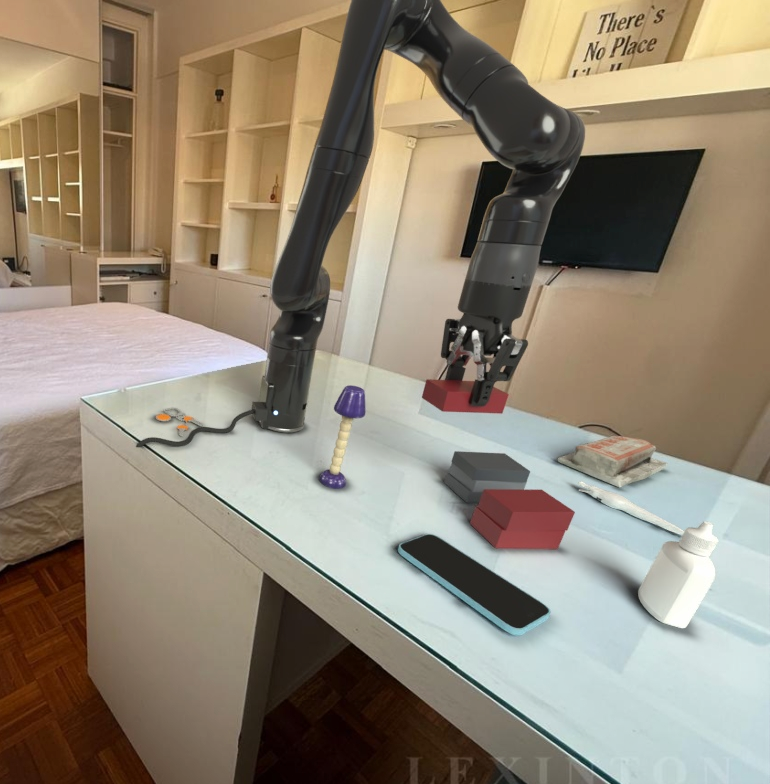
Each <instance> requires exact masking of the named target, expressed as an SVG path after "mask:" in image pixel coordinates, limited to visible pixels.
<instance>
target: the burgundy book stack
mask: <svg viewBox="0 0 770 784" xmlns="http://www.w3.org/2000/svg"><path fill="white" fill-rule="evenodd" d="M575 514H576V511H574V510H573V509H571V507H568V506H567V505H566V504H565V503H563V502H561V501H559V500H558V499H557V498H555V497H554V496H552V495H551V494H549V493H548V492H546V491H545V490H544V489H524V490H523V489H484V490H483V493H482V496H481V499H480V502H479V503H478V505H477V506H475V507H474V510H473V513H472V516H471V519H470V522H469V524H470V525H471V526H472V527H473V528H474V529H475V530H476V531H477V532H478V533H479V534H480V535H481V536H482V537H483V538H484V539H485V540H486V541H487V542H488V543H489V544H490V545H491V546H492V547H493V548H494V549H507V550H508V549H509V550H511V549H512V550H514V549H515V550H517V549H518V550H519V549H520V550H522V549H523V550H558V549H559V547H560V545H561V543H562V540H563V539H564V536H565V533H566V532H567V531H568V529H569V527H570V525H571V523H572V521H573V519H574V516H575Z"/></svg>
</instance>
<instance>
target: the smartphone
mask: <svg viewBox="0 0 770 784" xmlns="http://www.w3.org/2000/svg"><path fill="white" fill-rule="evenodd" d="M397 548H398V549H397V552H398V554H399V555H400V556H401V557H402V558H404V559H406V560H407V561H408V562H410V563H411V564H412V565H414V566H415V567H416V568H418V569H419V570H421V571H422V572H424V574H426V575H428V576H429V577H430V578H432V579H433V580H434V581H436V582H437V583H439V584H440V585H441V586H443V587H444V588H445V589H447V590H448V591H449V592H450V593H452V594H454V595H455V596H456V597H458V598H459V599H460V600H462V601H463V602H465V603H466V604H467V605H468V606H470V607H472V608H473V609H475V610H476V611H477V612H479V613H480V614H481V615H483V616H484V617H485V618H487V620H489V621H491V622H492V623H494V624H495V625H496V626H497V627H499V628H500V629H502V630H503V631H505V632H507V634H508V633H509V634H511V635H513V636H522V635H524V634H525V633H527V632H529V631H530V630H532V629H534V628H536V627H537V626H539V625H541V624H543V623H544V622H546V621H547V620H549V617H550V616H551V613H552V610H551V609H550V608H549V607H548V605H546V604H545V603H544V602H542V601H540V600H539V599H537V598H536V597H534V596H532V595H531V594H530V593H528V592H526V591H525V590H523V589H521V588H520V587H518V586H517V585H515V584H513V583H512V582H511V581H509V580H508V579H505V578H504V577H503V576H501V575H499V574H498V573H496V572H495V571H493V570H492V569H490V568H488V567H487V566H486V565H484V564H482V563H481V562H479V561H477V560H476V559H474V558H473V557H471V556H469V555H468V554H466V553H465V552H463V551H462V550H460V549H459V548H457V547H455V546H453V545H452V544H451V543H449V542H448V541H446V540H444V539H443V538H442V537H440V536H437V535H436V534H434V533H433V534H432V533H426V534H423V535H420V536H417V537H415V538H412V539H409V540H406V541H403V542H400V543H399V545H398V547H397Z"/></svg>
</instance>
